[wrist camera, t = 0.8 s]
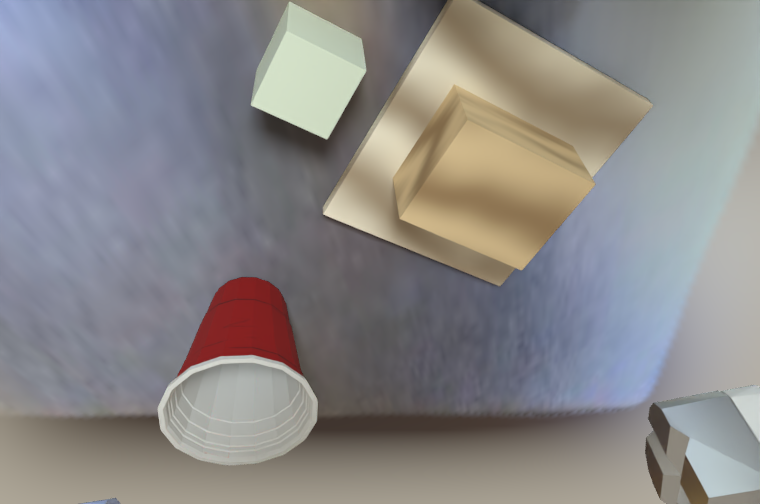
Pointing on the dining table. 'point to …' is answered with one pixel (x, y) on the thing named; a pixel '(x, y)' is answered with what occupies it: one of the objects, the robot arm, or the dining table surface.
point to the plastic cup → (240, 382)
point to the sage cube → (308, 71)
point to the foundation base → (499, 81)
